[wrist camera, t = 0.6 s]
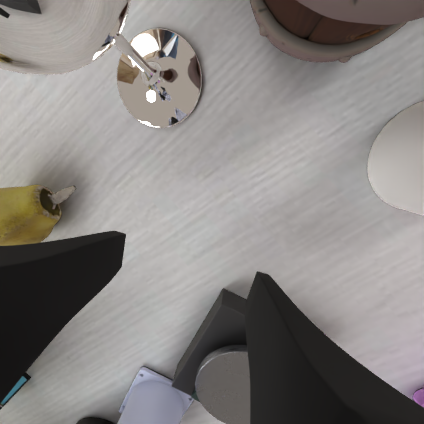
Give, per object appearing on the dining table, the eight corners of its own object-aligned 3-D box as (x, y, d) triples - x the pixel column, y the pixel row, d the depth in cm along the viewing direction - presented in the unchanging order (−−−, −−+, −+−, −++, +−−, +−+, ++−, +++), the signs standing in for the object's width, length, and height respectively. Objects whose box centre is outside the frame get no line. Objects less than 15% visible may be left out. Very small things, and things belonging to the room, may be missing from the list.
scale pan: (264, 433, 21) (265, 443, 21) (181, 392, 21) (179, 401, 21) (317, 374, 19) (321, 383, 18) (223, 327, 19) (222, 334, 18)
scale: (261, 406, 25) (264, 436, 22) (177, 365, 25) (170, 389, 22) (321, 336, 22) (333, 361, 19) (223, 287, 22) (221, 305, 19)
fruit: (101, 210, 21) (30, 259, 22) (77, 165, 22) (10, 214, 23) (47, 204, 15) (-45, 271, 16) (18, 143, 16) (-68, 210, 17)
